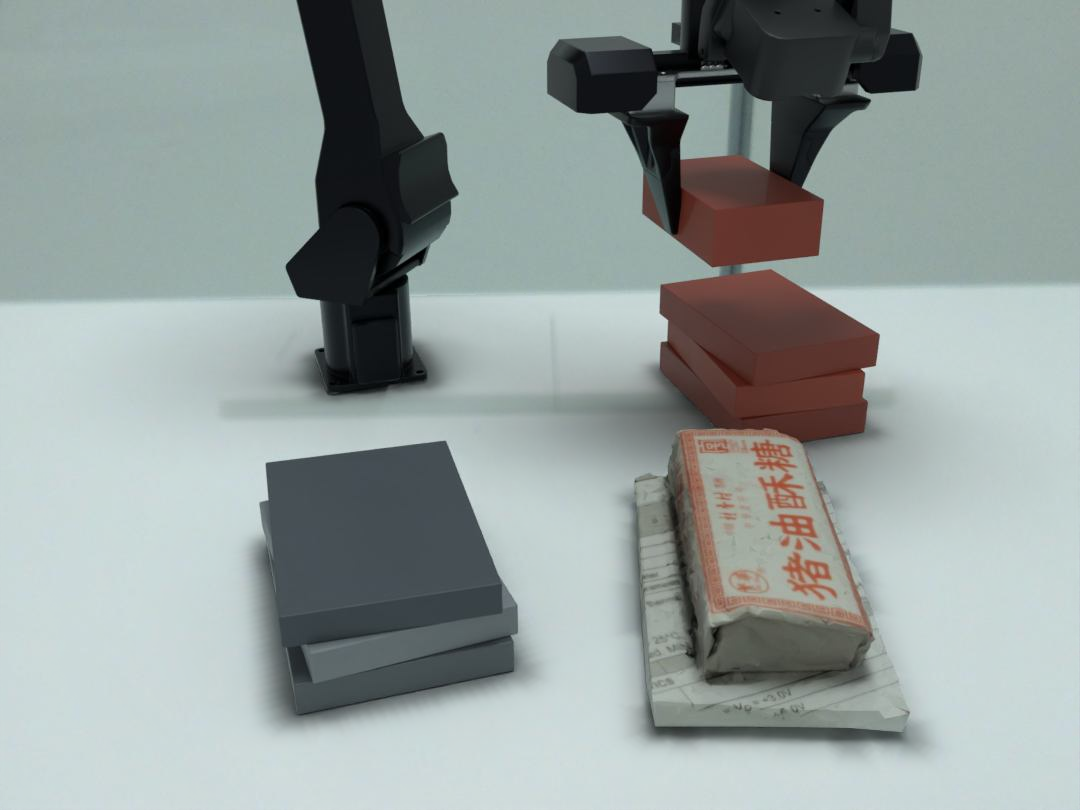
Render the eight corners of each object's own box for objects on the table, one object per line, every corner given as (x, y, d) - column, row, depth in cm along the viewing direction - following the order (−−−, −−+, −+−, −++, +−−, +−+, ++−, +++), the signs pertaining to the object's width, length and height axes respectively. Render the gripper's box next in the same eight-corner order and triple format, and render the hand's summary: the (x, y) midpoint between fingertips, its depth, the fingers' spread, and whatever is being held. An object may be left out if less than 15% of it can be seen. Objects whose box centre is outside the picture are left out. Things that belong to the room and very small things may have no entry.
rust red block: (641, 213, 67) (643, 162, 65) (736, 204, 68) (740, 154, 67) (711, 267, 58) (715, 209, 57) (819, 256, 60) (824, 199, 58)
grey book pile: (261, 543, 57) (251, 464, 55) (449, 512, 60) (445, 435, 58) (291, 719, 46) (280, 626, 44) (523, 671, 48) (521, 582, 46)
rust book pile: (651, 368, 76) (654, 282, 73) (772, 351, 78) (779, 267, 75) (736, 455, 65) (743, 357, 62) (873, 432, 67) (886, 337, 65)
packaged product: (633, 416, 59) (831, 418, 58) (631, 498, 61) (821, 500, 60) (652, 633, 42) (926, 637, 42) (648, 735, 45) (908, 740, 44)
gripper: (618, -65, 47) (612, 295, 54) (1012, -78, 52) (960, 255, 58) (542, -80, 57) (545, 227, 63) (880, -90, 61) (849, 198, 68)
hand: (724, 227), depth 63 cm, fingers closed on rust red block, 6 cm apart
